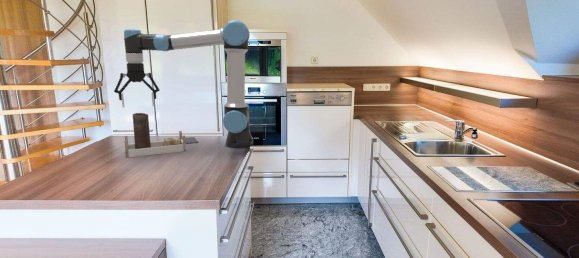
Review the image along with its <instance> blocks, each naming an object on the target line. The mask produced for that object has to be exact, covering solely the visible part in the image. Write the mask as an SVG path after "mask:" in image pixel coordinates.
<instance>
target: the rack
mask: <svg viewBox="0 0 579 258" xmlns="http://www.w3.org/2000/svg"><path fill="white" fill-rule="evenodd" d="M178 132H179V135H178V136H179V138H180V139H179V143H180V145H170V146H163V143H164V140H159V141H158V140H157V141H150V143H151V148H142V149H135V143H129V139H128V135H124V150H125V157H126V158H134V157H135V158H136V157H145V156H153V155H160V154H161V155H162V154H171V153H179V152H186V151H187V147H186V146H187V144H186V143H185V138H186V135H185V134H184V135H183V132H182V130H179V131H178ZM182 139H183V140H182Z"/></svg>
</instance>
